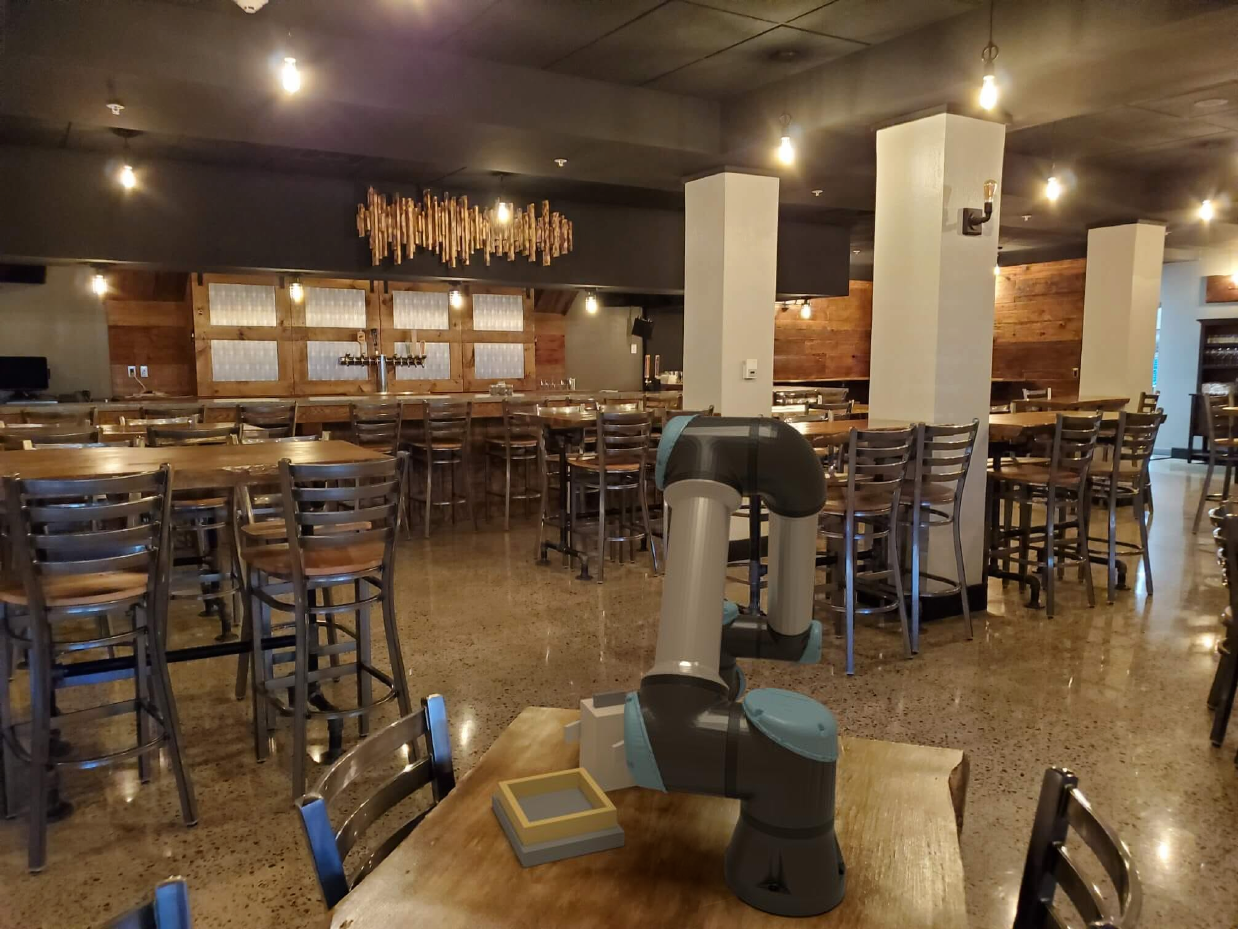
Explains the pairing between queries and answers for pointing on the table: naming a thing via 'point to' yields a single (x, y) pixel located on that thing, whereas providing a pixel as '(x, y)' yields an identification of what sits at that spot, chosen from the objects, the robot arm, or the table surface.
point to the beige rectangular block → (603, 739)
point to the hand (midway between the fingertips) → (588, 745)
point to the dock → (556, 816)
